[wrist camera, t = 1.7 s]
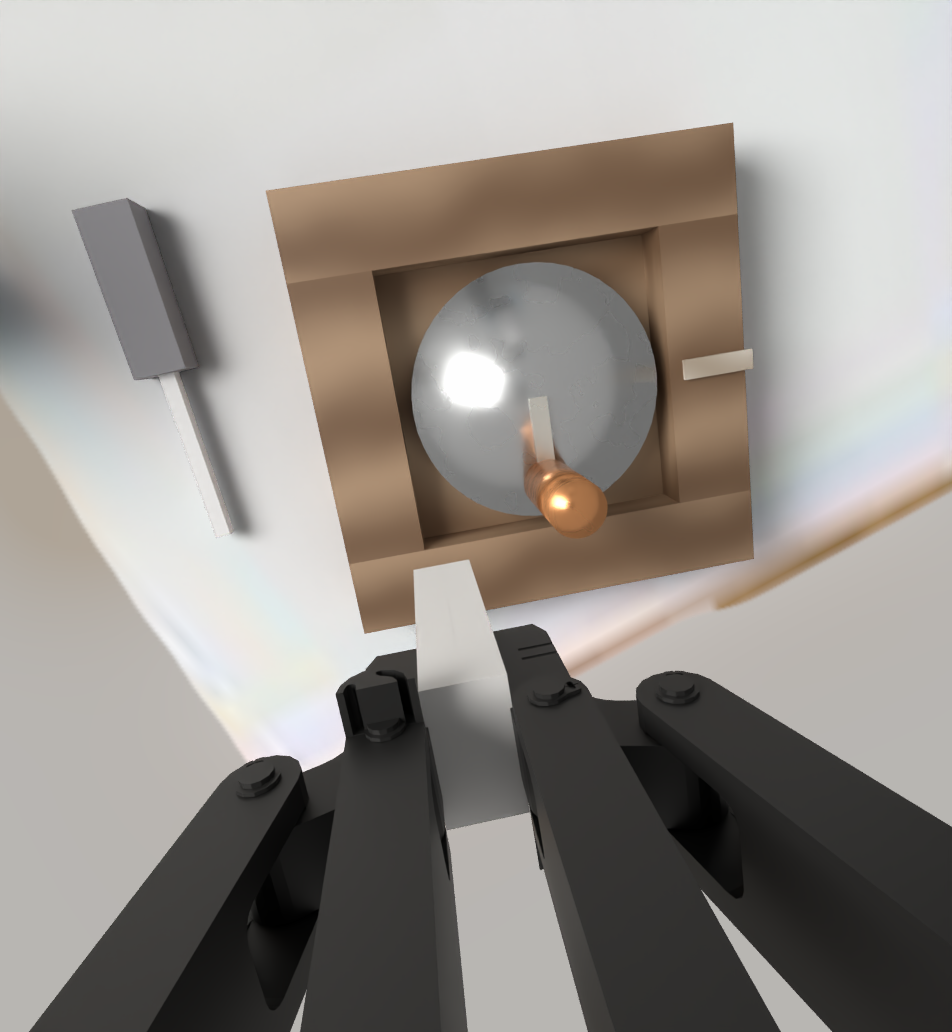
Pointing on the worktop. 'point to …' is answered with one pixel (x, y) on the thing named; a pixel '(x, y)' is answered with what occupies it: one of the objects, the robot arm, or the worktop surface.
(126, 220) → the screwdriver
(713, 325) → the housing
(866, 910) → the robot arm
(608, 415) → the dial
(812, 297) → the worktop surface
